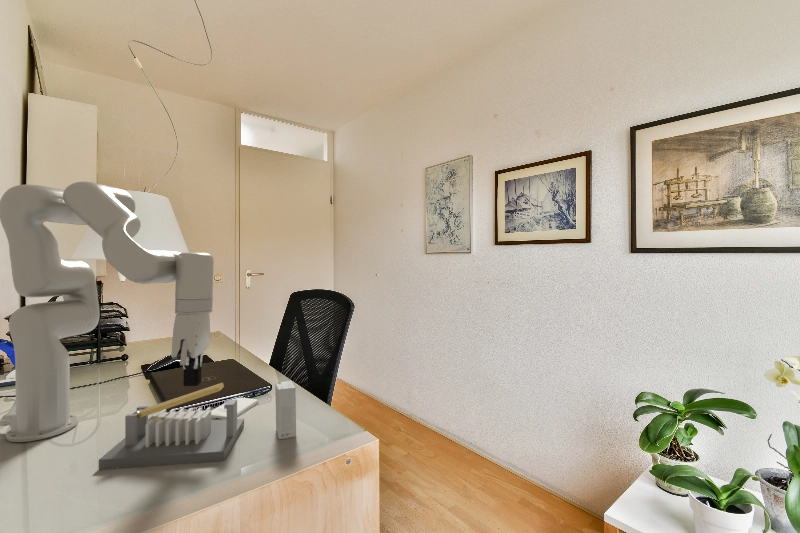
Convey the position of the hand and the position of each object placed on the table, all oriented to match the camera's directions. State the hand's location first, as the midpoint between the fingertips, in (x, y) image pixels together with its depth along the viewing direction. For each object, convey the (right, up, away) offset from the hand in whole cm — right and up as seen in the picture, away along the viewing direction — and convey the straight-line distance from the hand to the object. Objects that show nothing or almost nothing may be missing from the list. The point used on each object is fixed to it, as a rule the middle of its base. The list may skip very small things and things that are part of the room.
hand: (192, 384), depth 83 cm
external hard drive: (0, -14, +20) cm, 24 cm away
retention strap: (-3, -4, 0) cm, 5 cm away
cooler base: (-3, -14, 0) cm, 14 cm away
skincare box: (+20, -14, +6) cm, 25 cm away
